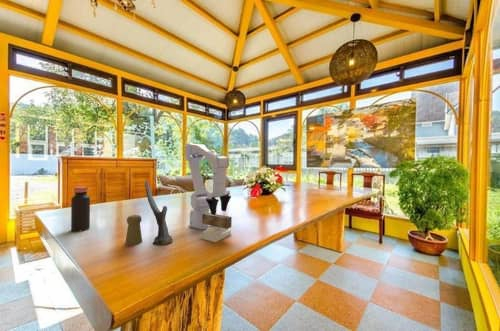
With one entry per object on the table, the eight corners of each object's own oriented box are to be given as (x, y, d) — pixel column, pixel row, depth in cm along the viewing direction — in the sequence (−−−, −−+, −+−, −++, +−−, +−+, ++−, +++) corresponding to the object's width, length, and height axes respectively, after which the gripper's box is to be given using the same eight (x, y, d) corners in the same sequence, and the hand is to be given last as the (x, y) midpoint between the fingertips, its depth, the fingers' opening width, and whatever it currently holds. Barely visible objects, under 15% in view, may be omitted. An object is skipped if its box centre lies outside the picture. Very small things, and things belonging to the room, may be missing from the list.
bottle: (67, 230, 95) (67, 187, 94) (84, 226, 101) (84, 185, 101) (76, 232, 92) (76, 188, 92) (93, 228, 98) (93, 186, 98)
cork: (124, 246, 79) (124, 218, 79) (125, 240, 85) (126, 214, 84) (142, 243, 82) (142, 216, 82) (142, 238, 87) (142, 213, 87)
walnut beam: (202, 223, 94) (202, 213, 94) (206, 221, 97) (206, 212, 96) (227, 229, 87) (227, 218, 87) (231, 227, 90) (231, 217, 90)
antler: (175, 238, 88) (176, 180, 87) (168, 246, 80) (169, 182, 80) (147, 238, 88) (148, 180, 87) (138, 246, 80) (139, 182, 79)
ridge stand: (201, 238, 89) (201, 227, 89) (216, 231, 99) (217, 220, 99) (215, 242, 85) (216, 230, 85) (230, 234, 95) (230, 223, 95)
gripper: (216, 185, 85) (215, 217, 85) (235, 182, 97) (234, 210, 98) (203, 183, 88) (202, 215, 89) (223, 181, 101) (222, 208, 101)
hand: (218, 212), depth 93 cm, fingers open, 7 cm apart
